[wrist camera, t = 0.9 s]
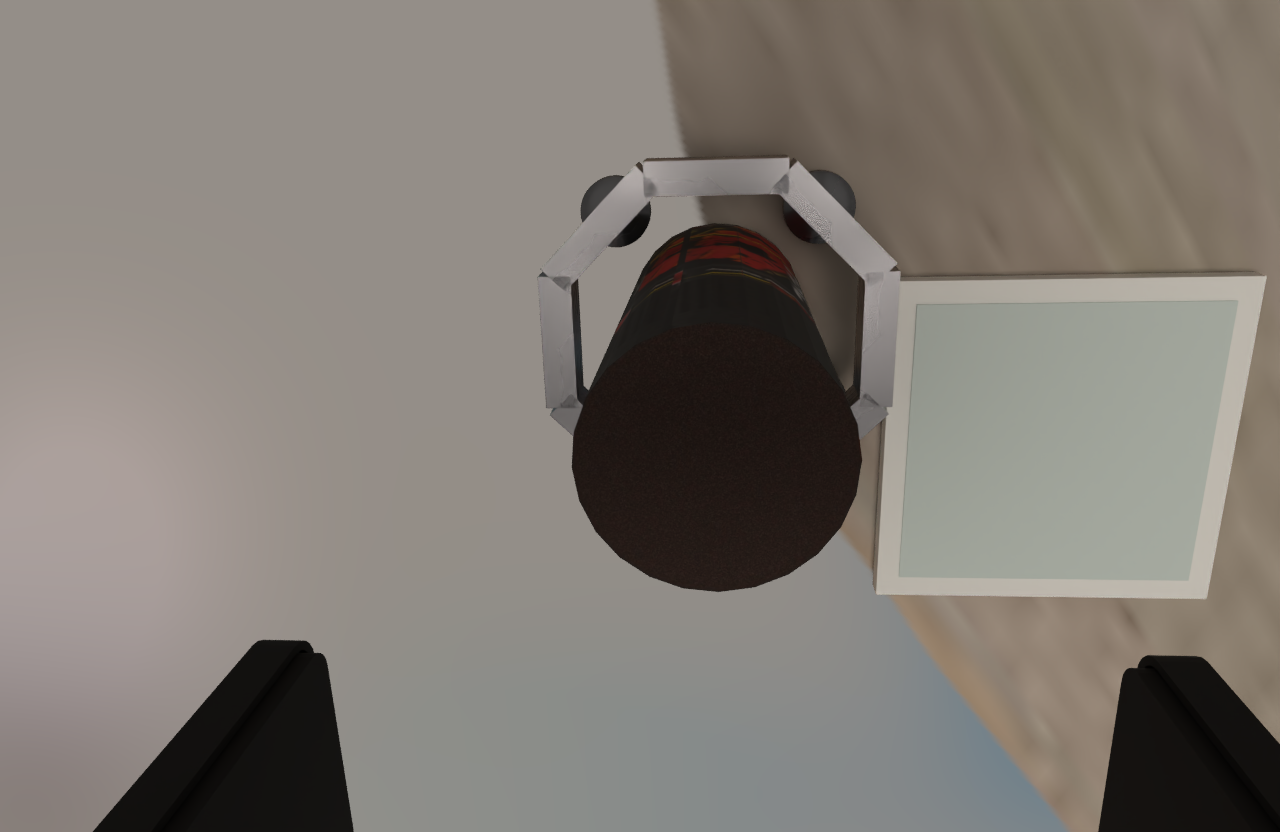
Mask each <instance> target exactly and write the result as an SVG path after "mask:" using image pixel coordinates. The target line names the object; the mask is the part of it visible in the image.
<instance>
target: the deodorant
mask: <svg viewBox="0 0 1280 832" xmlns="http://www.w3.org/2000/svg"><path fill="white" fill-rule="evenodd" d="M861 463H862V456H861V447H860V439H859V431H858V424H857V421H856V419H855V417H854V414H853V412H852V410H851V407H850V405H849V402H848V400H847V398H846V395H845V393H844V391H843V388H842V386H841V383H840V381H839V379H838V376H837V374H836V372H835V369H834V367H833V364H832V362H831V360H830V357H829V355H828V353H827V350H826V348H825V345H824V343H823V341H822V338H821V336H820V333H819V331H818V329H817V326H816V324H815V322H814V319H813V317H812V314H811V312H810V310H809V307H808V305H807V303H806V300H805V298H804V295H803V293H802V291H801V288H800V286H799V284H798V281H797V279H796V277H795V274H794V272H793V270H792V267H791V265H790V263H789V261H788V260H787V259H786V258H785V257H784V255H783V254H782V253H781V252H780V250H779V249H778V248H777V247H776V246H775V245H774V244H773V243H771V242H770V241H768V240H767V239H766V238H764V237H763V236H761V235H760V234H759V233H757V232H754V231H751V230H748V229H746V228H743V227H740V226H737V225H728V224H715V223H714V224H709V225H703V226H698V227H692V228H690V229H688V230H686V231H684V232H682V233H679V234H677V235H675V236H673V237H672V238H670V239H669V240H668V241H667V242H666V243H664V244H663V245H662V246H661V247H660V248H659V249H658V250H656V251H655V253H654V254H653V255H652V257H651V258H650V260H649V261H648V263H647V264H646V266H645V267H644V268H643V270H642V273H641V275H640V277H639V279H638V281H637V284H636V286H635V288H634V291H633V293H632V295H631V297H630V299H629V302H628V304H627V306H626V308H625V311H624V313H623V315H622V317H621V320H620V322H619V324H618V327H617V329H616V331H615V334H614V335H613V337H612V340H611V342H610V344H609V347H608V349H607V351H606V353H605V356H604V358H603V360H602V362H601V364H600V367H599V369H598V371H597V373H596V376H595V378H594V380H593V383H592V385H591V387H590V389H589V391H588V394H587V396H586V398H585V401H584V404H583V407H582V409H581V412H580V415H579V418H578V421H577V424H576V427H575V430H574V434H573V455H572V470H573V474H574V478H575V484H576V488H577V492H578V497H579V501H580V503H581V505H582V507H583V508H584V511H585V512H586V514H587V516H588V518H589V520H590V522H591V524H592V525H593V527H594V529H595V531H596V532H597V533H598V535H599V536H601V538H602V539H603V540H604V541H605V542H606V543H607V544H608V545H609V546H610V547H611V548H612V550H613V551H614V552H615V553H616V554H617V555H618V556H619V557H620V558H622V559H623V560H625V561H627V562H628V563H630V564H631V565H632V566H634V567H636V568H637V569H639V570H640V571H642V572H643V573H645V574H646V575H648V576H650V577H652V578H655V579H658V580H661V581H664V582H667V583H670V584H672V585H675V586H678V587H681V588H686V589H696V590H706V591H716V592H721V591H729V590H736V589H744V588H752V587H756V586H759V585H762V584H764V583H767V582H770V581H772V580H775V579H777V578H780V577H783V576H785V575H788V574H790V573H791V572H793V571H794V570H795V569H797V568H798V567H800V566H801V565H803V564H804V563H806V562H807V561H808V560H810V559H811V558H813V557H814V556H816V555H817V554H818V553H819V552H820V551H821V550H822V549H823V547H824V546H825V545H826V544H827V543H828V542H829V540H830V539H831V538H832V537H833V536H834V535H835V533H836V532H837V531H838V530H839V529H840V528H841V526H842V524H843V522H844V520H845V517H846V515H847V513H848V511H849V509H850V507H851V505H852V503H853V500H854V498H855V496H856V493H857V487H858V481H859V475H860V469H861Z"/></svg>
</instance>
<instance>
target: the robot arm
mask: <svg viewBox="0 0 1280 832" xmlns="http://www.w3.org/2000/svg"><path fill="white" fill-rule="evenodd" d="M93 832H353V823H352V818H351V811H350V804H349V798H348V792H347V786H346V779H345V773H344V766H343V760H342V755H341V747H340V742H339V735H338V728H337V722H336V716H335V709H334V703H333V697H332V691H331V684H330V679H329V671H328V665H327V661H326V659H325V657H324V655H323V654H321V653H314V651H313V648H312V647H311V645H310V643H308V642H307V641H293V640H291V641H290V640H261V641H257V642H256V643H255V644H254V645H253V646H252V647H251V648H250V649H249V650H248V652H247V653H246V654H245V655H244V656H243V657H242V659H241V660H240V661H239V662H238V663H237V664H236V666H235V667H234V668H233V669H232V670H231V671H230V673H229V674H228V675H227V676H226V677H225V678H224V679H223V681H222V682H221V683H220V684H219V685H218V686H217V688H216V689H215V690H214V691H213V692H212V694H211V695H210V696H209V697H208V698H207V699H206V700H205V702H204V703H203V704H202V705H201V706H200V708H199V709H198V710H197V711H196V712H195V713H194V714H193V716H192V717H191V718H190V719H189V720H188V721H187V723H186V724H185V725H184V726H183V727H182V728H181V730H180V731H179V732H178V733H177V734H176V735H175V737H174V738H173V739H172V740H171V741H170V742H169V744H168V745H167V746H166V747H165V748H164V749H163V751H162V752H161V753H160V754H159V755H158V756H157V758H156V759H155V760H154V761H153V762H152V763H151V764H150V766H149V767H148V768H147V769H146V770H145V771H144V773H143V774H142V775H141V776H140V777H139V778H138V780H137V781H136V782H135V783H134V784H133V785H132V787H131V788H130V789H129V790H128V791H127V792H126V794H125V795H124V796H123V797H122V798H121V799H120V801H119V802H118V803H117V804H116V805H115V806H114V808H113V809H112V810H111V811H110V812H109V813H108V815H107V816H106V817H105V818H104V819H103V821H102V822H101V823H100V824H99V825H98V826H97V828H96V829H95V830H94V831H93ZM1098 832H1280V744H1279V743H1278V742H1277V741H1276V739H1275V738H1274V737H1273V736H1272V735H1271V734H1270V733H1269V731H1268V730H1267V729H1266V728H1265V727H1264V726H1263V725H1262V723H1261V722H1260V721H1259V720H1258V719H1257V718H1256V717H1255V715H1254V714H1253V713H1252V712H1251V711H1250V710H1249V709H1248V707H1247V706H1246V705H1245V704H1244V703H1243V702H1242V701H1241V699H1240V698H1239V697H1238V696H1237V695H1236V694H1235V693H1234V691H1233V690H1232V689H1231V688H1230V687H1229V686H1228V685H1227V683H1226V682H1225V681H1224V680H1223V679H1222V678H1221V677H1220V675H1219V674H1218V673H1217V672H1216V671H1215V670H1214V669H1213V667H1212V666H1211V665H1210V664H1209V663H1208V662H1207V661H1206V660H1205V659H1203V658H1202V657H1197V656H1155V655H1147V656H1145V657H1143V658H1142V659H1141V661H1140V662H1139V664H1138V668H1129V669H1127V670H1126V671H1125V672H1124V674H1123V678H1122V682H1121V688H1120V695H1119V701H1118V708H1117V714H1116V721H1115V727H1114V734H1113V740H1112V747H1111V753H1110V760H1109V766H1108V773H1107V779H1106V786H1105V792H1104V799H1103V805H1102V811H1101V818H1100V824H1099V831H1098Z"/></svg>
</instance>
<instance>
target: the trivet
mask: <svg viewBox="0 0 1280 832" xmlns="http://www.w3.org/2000/svg"><path fill="white" fill-rule="evenodd" d="M1266 278H1267V276H1265V275H1262V274H1259V273H1256V272H1202V273H1136V274H1069V275H1002V276H936V277H900V289H899V306H898V323H897V339H896V356H895V373H894V390H893V406H892V407H885V408H886V410H887V412H888V414H889V415H887V416H886V417H885V418H884V419H883V420H882V428H881V446H880V464H879V482H878V500H877V517H876V535H875V553H874V571H873V586H874V590H875V593H876V594H882V595H955V596H1028V597H1101V598H1174V599H1207V594H1208V588H1209V583H1210V577H1211V572H1212V567H1213V561H1214V556H1215V551H1216V545H1217V540H1218V535H1219V529H1220V524H1221V519H1222V513H1223V508H1224V502H1225V497H1226V492H1227V486H1228V481H1229V476H1230V470H1231V465H1232V460H1233V454H1234V449H1235V444H1236V438H1237V433H1238V427H1239V422H1240V417H1241V411H1242V406H1243V401H1244V395H1245V390H1246V385H1247V379H1248V374H1249V369H1250V363H1251V358H1252V353H1253V347H1254V342H1255V336H1256V331H1257V326H1258V320H1259V315H1260V310H1261V304H1262V299H1263V294H1264V288H1265V283H1266Z"/></svg>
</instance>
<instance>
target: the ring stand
mask: <svg viewBox="0 0 1280 832" xmlns="http://www.w3.org/2000/svg"><path fill="white" fill-rule="evenodd" d="M757 194H780V195H781V196H782V197H783V198H784V201H783V214H784V218H785V221H786V223H787V225H788V227H789V229H790V230H791V231H792V233H793V234H794V235H796V236H797V237H798V238H800V239H801V240H803V241H806V242H809V243H816V244H820V243H826V242H827V243H828V244H829V245H830V246H831V247H832V248H833V249H834V250H835V251H836V252H837V253H838V254H839V255H840V256H841V257H842V258H843V259H844V260H845V261H846V262H847V263H848V264H849V265H850V266H851V267H852V268H853V269H854V270H855V271H856V272H857V273H858V292H857V314H856V336H855V358H854V380H853V385H852V386H851V387H850V388H849V389H848V390H847V391H846V392H845V389H844V387H843V385H842V383H841V382H840V383H841V386H842V388H843V391H844V393H845V395H846V398H847V400H848V402H849V405H850V407H851V410H852V412H853V414H854V417H855V419H856V421H857V424H858V431H859V439H861V438H863V437H864V436H865V435H866V434H867V433H868V432H869V431H870V430H872V429H873V428H874V427H875V426H876V425H877V424H878V423H880V422H881V421H882V420H883V419H884V418H885V417H886V416H887V415H889V414H888V412H887V410H886V408H885V407H892V406H893V390H894V373H895V356H896V339H897V323H898V306H899V289H900V273H901V271H900V270H899V269H898V268H897V267H896V266H895V265H897V264H898V263H897V262H896V261H895V260H894V259H893V258H892V257H891V256H890V255H889V254H888V253H887V252H886V251H885V250H884V249H883V248H882V247H881V246H880V245H879V244H878V243H877V242H876V241H875V240H874V239H873V238H872V237H871V236H870V235H869V234H868V233H867V232H866V231H865V230H864V228H863V227H862V226H861V225H860V224H859V223H858V222H857V221H856V220H855V219H854V215H855V209H856V202H855V196H854V193H853V191H852V189H851V187H850V186H849V184H848V183H847V182H846V181H845V180H844V179H843V178H841V177H840V176H838V175H837V174H835V173H833V172H829V171H824V170H817V171H811V172H808V171H807V170H806V169H805V168H804V167H803V166H802V165H801V164H800V163H799V162H798V161H797V160H796V159H794V158H793V159H792V160H791V161H790V162H789V157H788V156H787V155H761V156H723V157H685V158H647V159H646V160H644V161H643V165H642V164H641V163H640V162H638V163H637V164H636V165H635V166H634V167H633V168H632V169H631V170H630V171H629V172H628V174H627V175H626V176H619V175H613V176H607V177H604V178H602V179H600V180H598V181H597V182H595V183H594V184H593V185H592V186H591V187H590V188H589V189H588V190H587V192H586V193H585V195H584V197H583V200H582V204H581V219H582V222H583V223H582V224H581V225H580V226H579V227H578V228H577V230H576V231H575V232H574V233H573V234H572V235H571V236H570V237H569V238H568V239H567V241H566V242H565V243H564V244H563V245H562V246H561V247H560V248H559V250H557V251H556V253H555V254H554V255H553V256H552V257H551V258H550V259H549V260H548V261H547V262H546V264H545V265H544V266H543V267H542V268H541V270H542V271H543V272H542V273H541V274H540V275H539V276H538V289H539V304H540V318H541V319H540V320H541V335H542V349H543V365H544V380H545V396H546V408H553V410H552V412H551V414H550V416H551V417H552V418H554V419H555V420H556V421H557V422H558V423H559V424H560V425H561V426H562V427H563V428H565V429H566V430H567V431H568V432H569V433H570V434H571V435H573V434H574V430H575V427H576V424H577V421H578V418H579V415H580V412H581V409H582V407H583V404H584V401H585V398H586V396H587V394H588V391H589V390H587V389H586V388H585V387H584V386H583V366H582V346H581V327H580V309H579V290H578V277H579V276H580V275H581V274H582V273H583V272H584V271H585V270H586V269H587V267H588V266H589V265H590V264H591V263H592V262H593V261H594V260H595V259H596V258H597V257H598V256H599V254H601V253H602V251H603V250H604V249H605V248H606V247H607V246H610V247H622V246H627V245H629V244H631V243H633V242H635V241H636V240H637V239H638V238H640V237H641V235H642V234H643V233H644V231H645V230H646V228H647V226H648V224H649V221H650V216H651V205H650V200H651V199H652V198H653V197H668V196H713V195H757ZM839 381H840V380H839Z"/></svg>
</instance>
